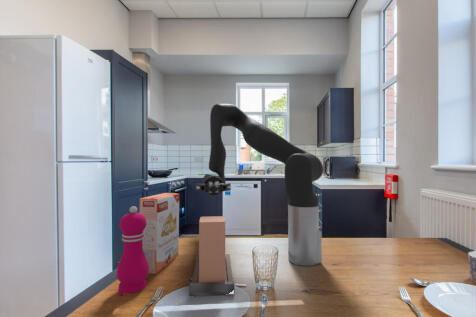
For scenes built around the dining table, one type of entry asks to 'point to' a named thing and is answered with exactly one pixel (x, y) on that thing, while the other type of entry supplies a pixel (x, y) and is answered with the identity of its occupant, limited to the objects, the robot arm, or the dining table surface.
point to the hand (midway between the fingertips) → (213, 189)
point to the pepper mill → (132, 254)
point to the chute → (212, 287)
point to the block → (212, 249)
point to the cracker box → (160, 229)
